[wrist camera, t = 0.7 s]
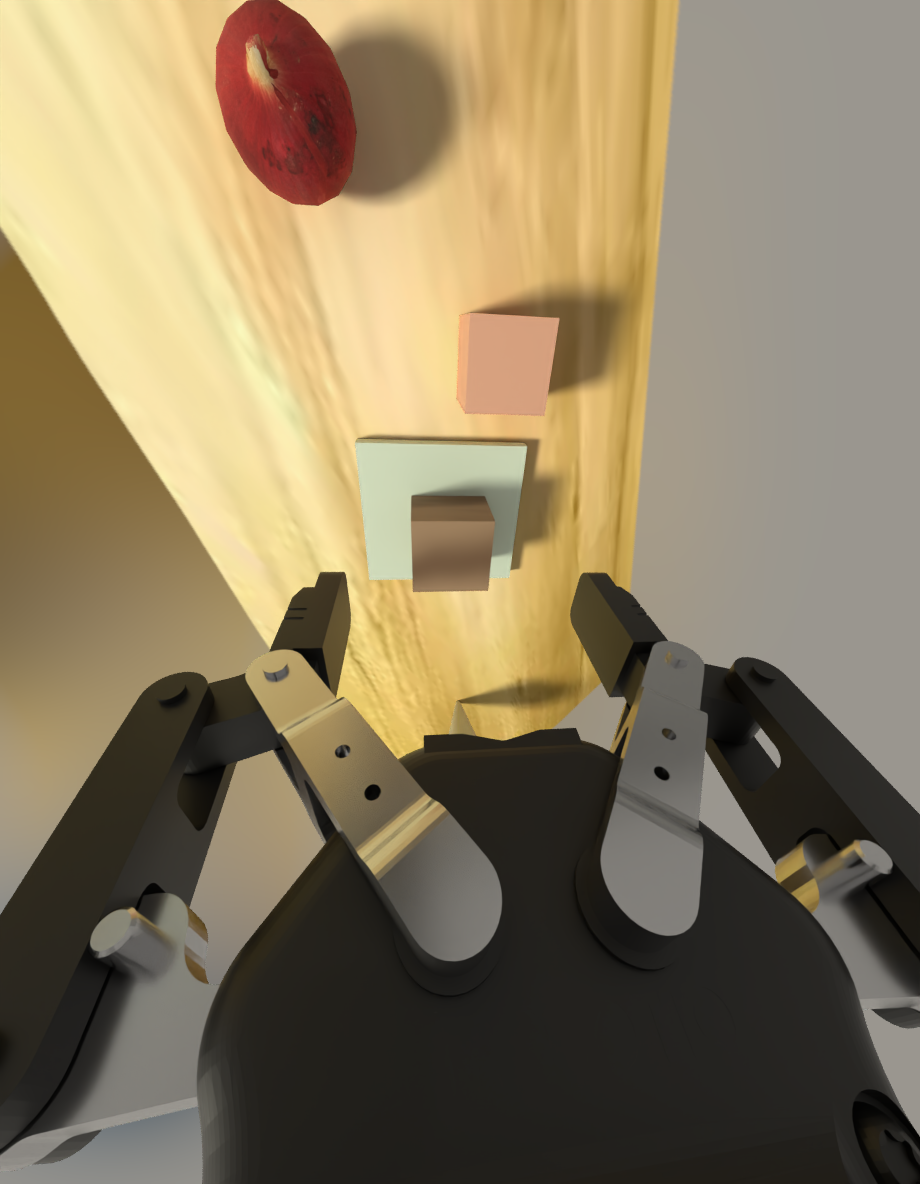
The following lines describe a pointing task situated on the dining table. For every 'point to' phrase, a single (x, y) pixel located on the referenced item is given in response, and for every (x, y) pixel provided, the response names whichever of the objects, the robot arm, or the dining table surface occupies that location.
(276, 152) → the red oval piece
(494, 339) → the terracotta block
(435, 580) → the walnut block
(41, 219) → the dining table surface
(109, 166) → the dining table surface
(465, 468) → the sage board
